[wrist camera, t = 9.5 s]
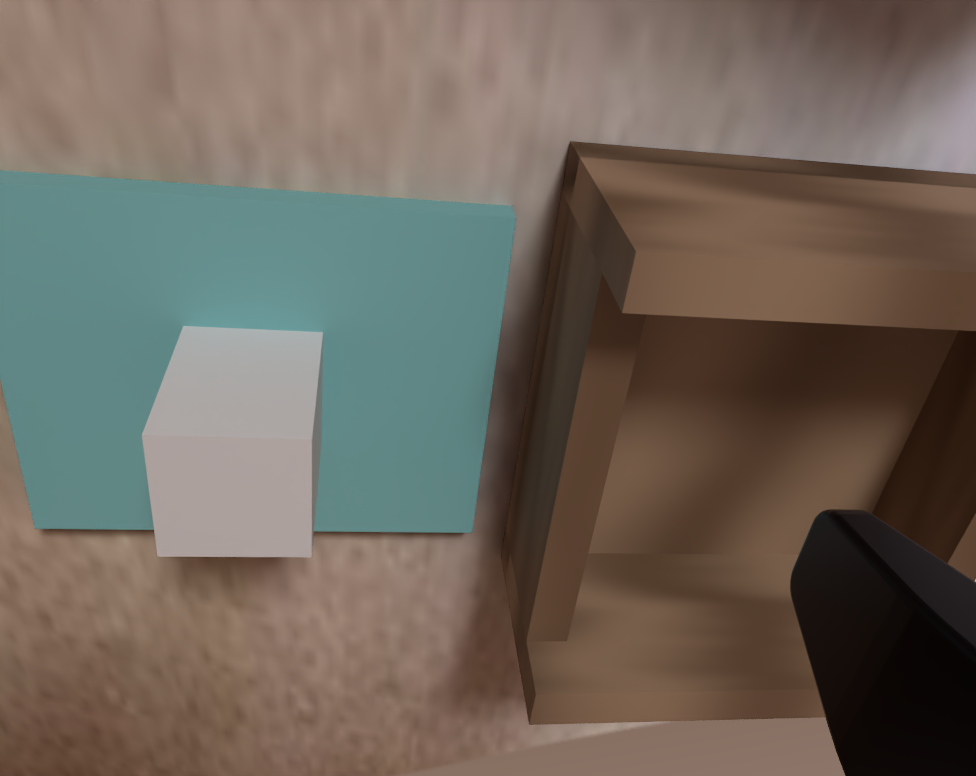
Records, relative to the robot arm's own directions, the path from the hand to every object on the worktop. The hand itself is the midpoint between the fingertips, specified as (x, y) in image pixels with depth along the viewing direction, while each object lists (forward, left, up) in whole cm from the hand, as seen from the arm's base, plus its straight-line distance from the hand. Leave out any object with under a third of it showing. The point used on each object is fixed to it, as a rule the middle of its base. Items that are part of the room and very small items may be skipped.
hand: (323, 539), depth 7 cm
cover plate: (-2, -6, -13) cm, 14 cm away
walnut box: (+10, -6, -12) cm, 17 cm away
